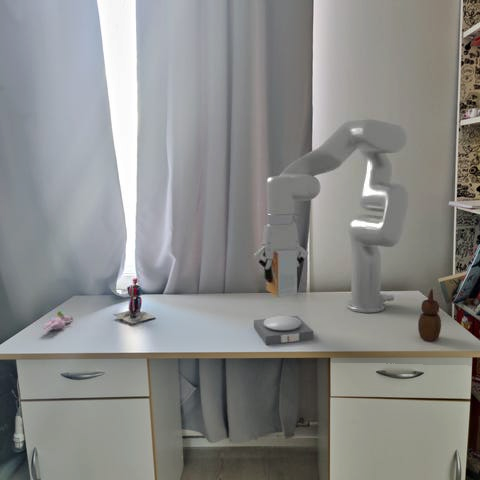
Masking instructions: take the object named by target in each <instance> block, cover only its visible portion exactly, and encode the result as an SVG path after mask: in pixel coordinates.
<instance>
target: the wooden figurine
mask: <svg viewBox="0 0 480 480" xmlns="http://www.w3.org/2000/svg"><path fill="white" fill-rule="evenodd" d="M420 307H421V311H422V313H421V314H420V315H419V318H418V321H417V322H418V324H417V328H418V334H419V337H420V339H422V340H423V341H427V342H435V341H436V340H439V338H440V337H439V336H440V333H441V330H442V320H441V316H440V314H438V313H439V312H440V303H439V302H438V301H437V300H435V299H434V289H433V288H432V289H431V288H430V291H429V293H428V297H427V299H425V300H423V301H422V303H421V306H420Z"/></svg>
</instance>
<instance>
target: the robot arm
mask: <svg viewBox="0 0 480 480" xmlns="http://www.w3.org/2000/svg"><path fill="white" fill-rule="evenodd" d="M407 137H408V136H407V133H406V131H405V129H404V128H403V127H402V126H400V125H398V124H395V123H389V122H387V121H383V120H377V119H371V118H370V119H369V118H368V119H358V120H350V121H346V122H344V123H342V124H341V125H340V126H339V127H337V129H336V130H335V131H334V132H333V133H332V134H331V135H330V136H328V138H327V139H326V140H324V142H323V143H322V144H321V145H320V146H319V147H318V148H317V147H316V148H315V149H313V150H311V151H310V152H308V153H306V154H304V155H303V156H300V157H299V158H297V159H296V160H295V161H293V162H291V163H290V164H289V165H288V166H287V167H286V168H285V169H284V170H283V171H282V172H281V173H280V174H279V175H275V176H269V177H268V178H267V179H266V206H267V207H266V209H267V210H266V213H267V216H266V217H267V220H266V221H267V223H266V224H264V226H263V230H262V231H263V234H262V243H261V244H262V246H261V248H259V249H258V250H257V252H255V253H254V254H253V258H254V259H255V260H256V261H257V262H258V263H259V265H261V266H262V267H263V268H264V270H263V271H264V272H263V273H264V279H265V282H266V281H267V282H269V283H271V269H270V265H271V263H272V261H273V259H274V251H284V250H297V278H298V276H299V267H300V265H301V264H302V263H303V261H304V260H305V258H306V257H307V256H308V255H309V252H308V250H306V249H305V248H304V247H302V246H301V245H300V242H299V241H300V239H299V233H298V227H297V224H296V222H295V221H296V220H297V221H298V220H299V219H300V218H299V214H295V211H294V209H295V208H294V207H295V206H294V205H295V203H294V202H295V201H305V202H306V201H311V200H313V199H316V198H317V197H318V195H319V193H320V192H321V183H320V181H319V179H318V178H317V177H316V176H318V175H323V174H326V173H329V172H330V173H331V172H332V171H335V170H336V169H337V170H338V169H339V168H340V167H341V166H342V165H343V164H344V163H345V162H346V160H348V158H349V157H350V156H351V155H352V154H353V153H354V152H355V151H356V150H359V152H360V153H361V155H362V158H363V159H364V164H365V168H364V177H363V181H362V185H361V191H360V194H359V196H360V197H359V204H360V207H361V208H362V209H363V210H365V211H369V212H377V213H383V216H381V215H374V214H359V215H358V214H357V215H356V216H354V217H353V218H351V220H350V222H349V223H348V224H349V225H348V236H349V241H350V247H351V274H350V275H351V281H350V282H351V283H350V284H351V287H350V288H351V293H350V297H351V298H350V300H348V301H347V302H346V308H347V309H348V310H350V311H353V312H357V313H364V314H367V313H368V314H369V313H371V314H372V313H378V312H382V311H383V310H385V308H386V307H385V306H386V305H385V302H391V301H394V299H395V298H394V295H393V294H388V295H387V294H386V293H384V294H382V293H381V280H382V279H381V278H382V275H381V273H382V255H381V251H380V249H379V247H384V248H392V247H395V246H397V245H398V243H399V242H400V240H401V238H402V235H403V230H404V225H405V221H406V217H407V212H408V207H409V193H408V190H407V189H406V187H405V186H404V185H402V184H400V183H395V182H394V183H393V182H391V179H392V173H393V166H392V163H391V161H390V158H389V157H388V156H387V154H396V153H399V152H401V151H403V149H404V148H405V147H406V145H407V141H408V138H407ZM261 256H262V257H264V258H265V259H264V260H263V259H262V258H261Z"/></svg>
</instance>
